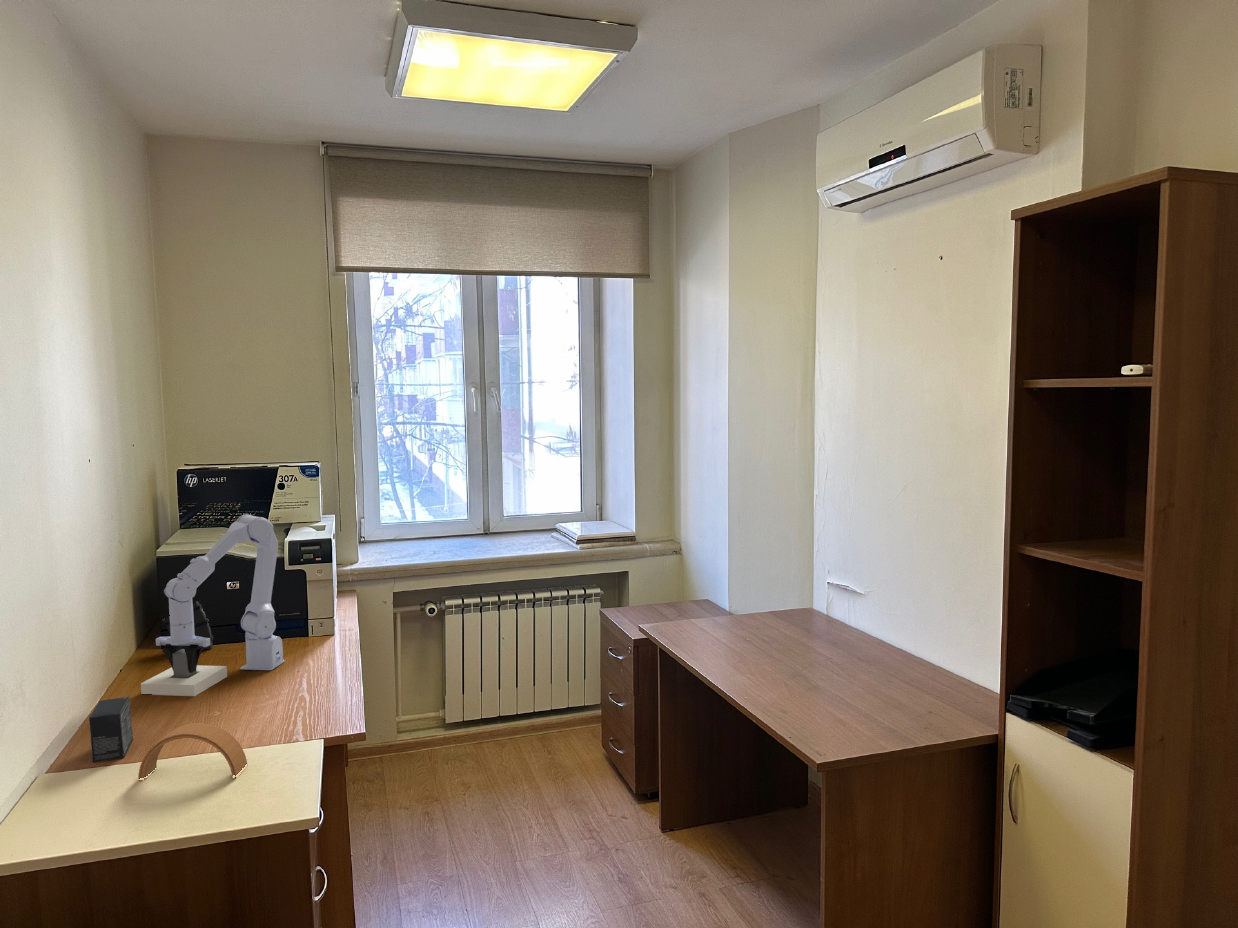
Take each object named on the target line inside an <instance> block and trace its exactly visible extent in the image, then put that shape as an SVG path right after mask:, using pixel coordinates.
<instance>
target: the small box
mask: <svg viewBox="0 0 1238 928" xmlns="http://www.w3.org/2000/svg"><path fill="white" fill-rule="evenodd" d="M130 698H131V697H130V696H124V697H117V698H116V697H115V698H110V699H103V700H99V701H98V702H97V704H96V706H95V707H94V709H93V710H92V712H91V713H90V715H89V717H88V720H89V721H88V722H89V732H90V734H89V736H90V746H91V760H92V763H97V762H98V763H99V762H107V761H111V760H112V761H113V760H120V759H124V758H125V757H126V756H127V753H128V751H129V749H130V746H131V745H132V743H133V741H134V736H133V735H134V734H133V726H132V715H131V714H132V713H131V700H130Z"/></svg>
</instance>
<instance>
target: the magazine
mask: <svg viewBox="0 0 1238 928" xmlns="http://www.w3.org/2000/svg"><path fill="white" fill-rule="evenodd" d="M195 602H196V603H194V602H193V603H194V604H193V617H194V634H195V636H199V637H204V638H210V645H209V646H207V647H204V648H203V650H202V651H205V650H204V649H209V650H212V648H213V645H214V643H213V640H214V634H212V629H211V626H209V625H210V623H208V622H210V618H209V617H208V618H209V619H208V618H206V617H207V615H206V612H205V610H204V609H203V607H202V606H203V604H202V603H201V604H202V605H201V604H200V602H199V600H196V601H195ZM203 610H204V611H203ZM167 616H168V618H166V619H165V617H164V619H163V618H162V620H161V621H162V623H163V624H162V626H163V627H166V629H167V631H168V633H169V635H168V636H171V631H170V616H169V615H167ZM188 647H190V646H182V648H181V649H186V648H188Z"/></svg>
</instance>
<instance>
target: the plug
mask: <svg viewBox="0 0 1238 928" xmlns="http://www.w3.org/2000/svg"><path fill="white" fill-rule="evenodd" d="M172 655H173V672H174V678H190V677H192V676H194V675H195V674H197V670H196V671H194V672H192V673H189V669H188V659H187V656H186V653H185V650H184V649H181V650H179V651H177V652H175V653H173V654H172Z"/></svg>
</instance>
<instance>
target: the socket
mask: <svg viewBox="0 0 1238 928" xmlns="http://www.w3.org/2000/svg"><path fill="white" fill-rule="evenodd" d="M196 670H197V674H195V675H194V676H192V677H190V678H174V672H173V669H172V666H171V667H170V668H168V669H166V670H164V671H162V672H160V673H158V674H156V675H154V676H152V677H150V678H148V679H147V680H145V681H143V682H141V683H140V693H141V695H142V694H152V695H151V696H176V697H177V696H178V697H196V696H198V695H199V694H201V693H203V692H204V691H207V690H208V689H209V688H210V687H212V686H214V685H215V684H217V683H219V682H221V681H223V680H224V679H226V678H227V677H228V666H227V665H202V664H201V665H199V664H197V668H196Z"/></svg>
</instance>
